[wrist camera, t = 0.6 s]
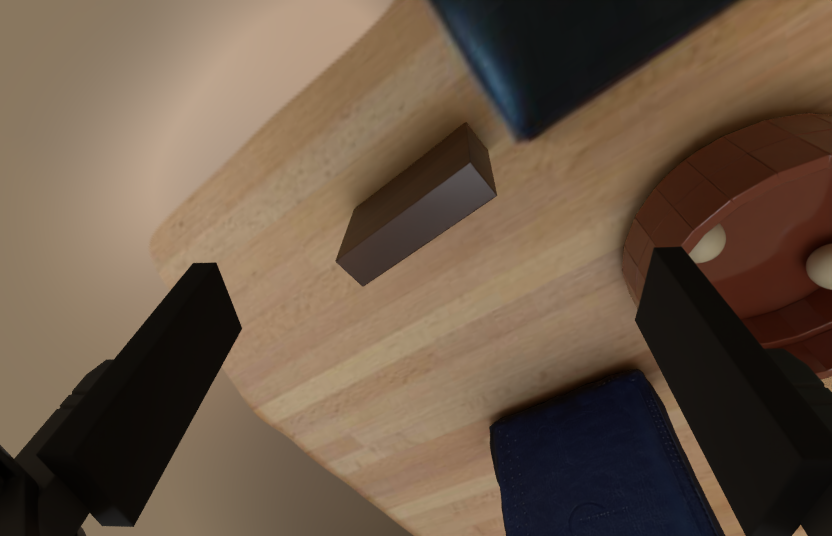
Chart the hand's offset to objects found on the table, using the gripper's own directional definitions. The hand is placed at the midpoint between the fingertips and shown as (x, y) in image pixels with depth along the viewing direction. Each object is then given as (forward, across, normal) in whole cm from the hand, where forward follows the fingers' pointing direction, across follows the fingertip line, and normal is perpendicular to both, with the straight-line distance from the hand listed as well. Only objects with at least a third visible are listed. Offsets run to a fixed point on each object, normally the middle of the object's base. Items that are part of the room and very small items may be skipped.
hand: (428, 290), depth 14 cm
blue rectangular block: (+15, +10, -24) cm, 30 cm away
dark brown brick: (+15, -1, -3) cm, 15 cm away
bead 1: (+12, +15, -6) cm, 20 cm away
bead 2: (+12, +23, -8) cm, 28 cm away
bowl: (+15, +19, -7) cm, 25 cm away
